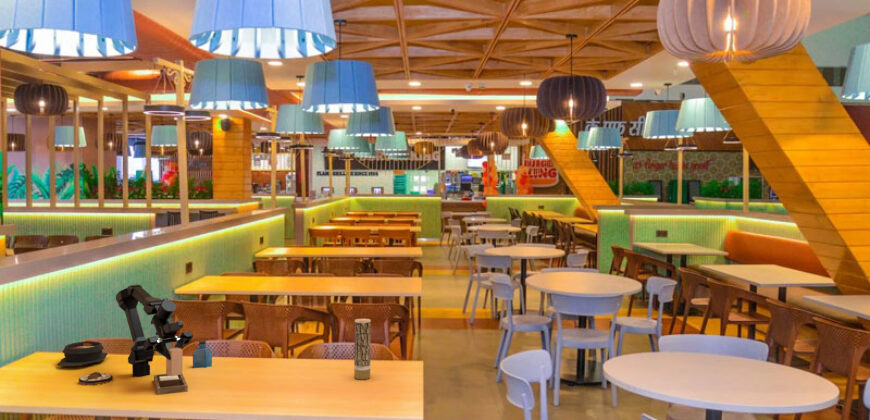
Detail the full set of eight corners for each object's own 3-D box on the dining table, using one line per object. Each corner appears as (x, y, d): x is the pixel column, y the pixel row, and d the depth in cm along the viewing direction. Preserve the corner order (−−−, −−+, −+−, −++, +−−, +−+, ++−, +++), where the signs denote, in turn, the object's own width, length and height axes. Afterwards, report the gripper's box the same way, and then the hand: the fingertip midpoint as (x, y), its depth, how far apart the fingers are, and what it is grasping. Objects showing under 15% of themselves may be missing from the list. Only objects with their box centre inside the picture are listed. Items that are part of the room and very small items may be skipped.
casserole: (80, 355, 336) (80, 338, 335) (117, 357, 334) (117, 339, 333) (46, 369, 311) (46, 350, 310) (86, 371, 309) (86, 352, 309)
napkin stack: (160, 385, 285) (160, 381, 285) (159, 381, 291) (159, 376, 291) (179, 384, 288) (179, 379, 288) (177, 379, 294) (177, 374, 294)
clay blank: (166, 374, 281) (166, 349, 280) (176, 372, 284) (176, 347, 284) (171, 376, 278) (171, 351, 277) (182, 374, 281) (182, 349, 281)
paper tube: (367, 380, 299) (368, 321, 298) (352, 379, 301) (352, 321, 300) (372, 376, 306) (372, 319, 305) (357, 375, 307) (357, 318, 306)
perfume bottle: (211, 366, 320) (212, 339, 320) (206, 369, 314) (206, 342, 313) (198, 365, 321) (198, 339, 320) (192, 369, 314) (192, 342, 314)
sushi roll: (96, 389, 284) (96, 378, 284) (67, 385, 289) (67, 375, 288) (123, 379, 298) (123, 369, 298) (95, 376, 303) (95, 366, 302)
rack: (187, 393, 278) (187, 385, 278) (157, 396, 273) (157, 388, 273) (181, 379, 297) (181, 372, 297) (153, 382, 292) (153, 375, 292)
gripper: (146, 317, 276) (160, 350, 269) (191, 311, 289) (205, 342, 282) (137, 334, 281) (150, 367, 274) (181, 327, 295) (195, 358, 288)
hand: (176, 358), depth 280 cm, fingers closed on clay blank, 4 cm apart
